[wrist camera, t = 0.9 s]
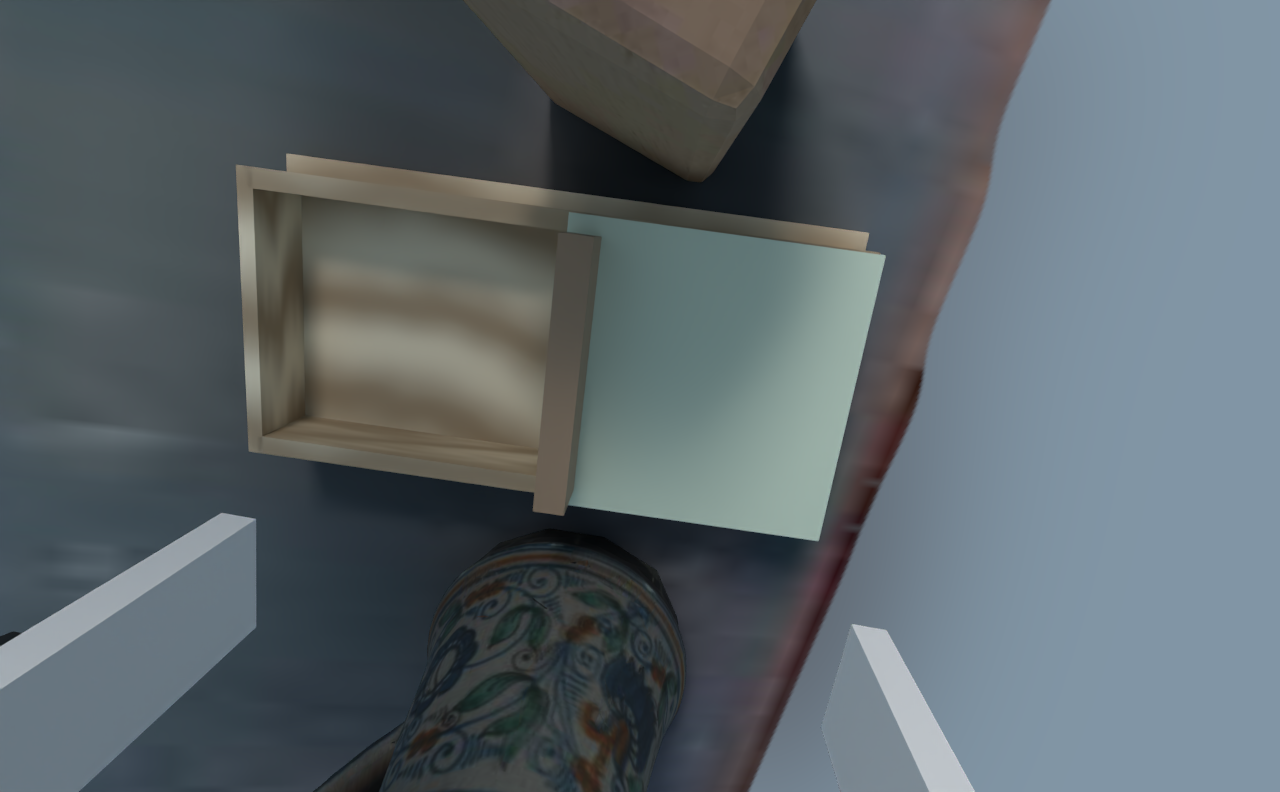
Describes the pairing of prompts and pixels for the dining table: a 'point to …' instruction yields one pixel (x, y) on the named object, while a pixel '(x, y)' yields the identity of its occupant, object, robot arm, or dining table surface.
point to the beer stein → (537, 677)
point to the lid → (700, 374)
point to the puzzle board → (416, 312)
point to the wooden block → (653, 66)
